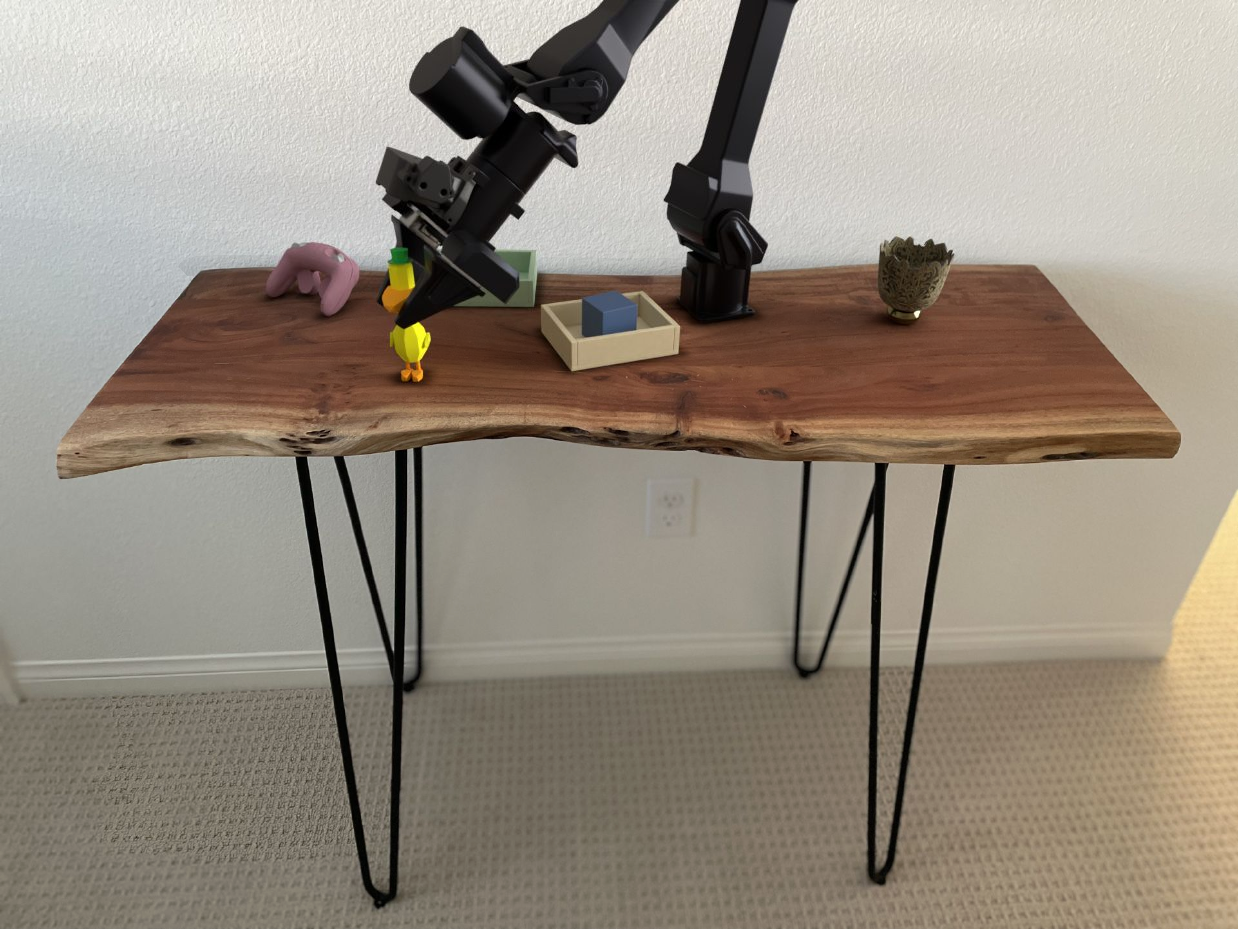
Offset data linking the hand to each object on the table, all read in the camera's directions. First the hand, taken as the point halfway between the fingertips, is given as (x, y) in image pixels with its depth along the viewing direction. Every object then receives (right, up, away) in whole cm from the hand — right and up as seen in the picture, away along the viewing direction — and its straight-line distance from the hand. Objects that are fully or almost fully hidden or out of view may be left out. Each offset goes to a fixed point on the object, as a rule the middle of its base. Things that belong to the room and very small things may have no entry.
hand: (389, 315), depth 82 cm
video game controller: (-12, +4, +19) cm, 23 cm away
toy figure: (+1, -5, +4) cm, 7 cm away
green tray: (+5, +6, +22) cm, 23 cm away
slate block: (+19, 0, +11) cm, 22 cm away
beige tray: (+19, -1, +12) cm, 22 cm away
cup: (+51, +2, +18) cm, 54 cm away
